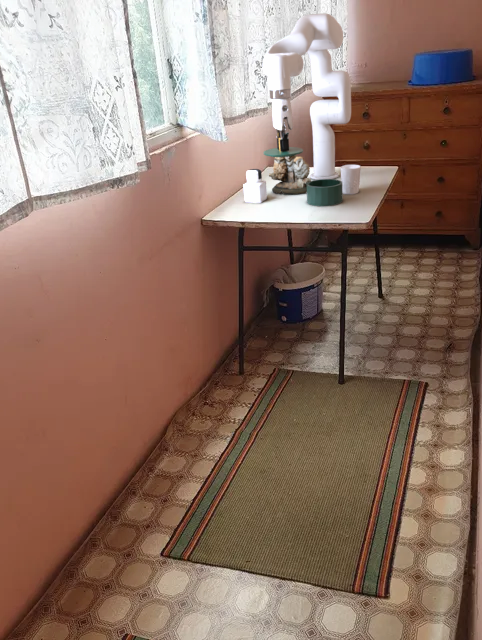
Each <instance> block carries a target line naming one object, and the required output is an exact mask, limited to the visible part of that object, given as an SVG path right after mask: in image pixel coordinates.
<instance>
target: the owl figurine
mask: <svg viewBox="0 0 482 640" xmlns="http://www.w3.org/2000/svg"><path fill="white" fill-rule="evenodd" d="M273 158H274V159H273V162H274V163H273V167H272V171H273V172H271V173H268V177H269V178H271V180H273V181H279V182H278V183H276V184H275V185H273V187H272V188H271V191H272V193H273V194H276V195H284V196H295V195H297V196H298V195H305V194H307V185H306V184H307V183H308V182H310V181H312V179H311V178H310V177H309V176H310V171H311V169H310V164H309V163H308V162H306V160H305V158H304V156H298V155H295V156H290V157H273Z"/></svg>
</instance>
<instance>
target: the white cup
mask: <svg viewBox="0 0 482 640" xmlns="http://www.w3.org/2000/svg"><path fill="white" fill-rule="evenodd" d="M361 168H362V166H361V165H359V164H345V165H342V166H340V181H342V194H344V195H355V194H358V193H359V192H360V184H361Z"/></svg>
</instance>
